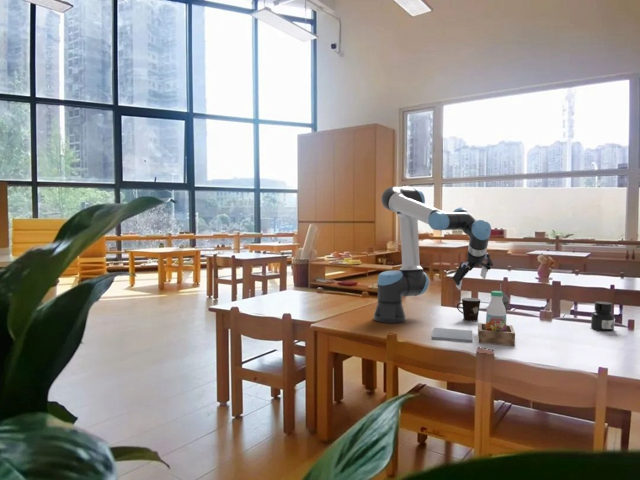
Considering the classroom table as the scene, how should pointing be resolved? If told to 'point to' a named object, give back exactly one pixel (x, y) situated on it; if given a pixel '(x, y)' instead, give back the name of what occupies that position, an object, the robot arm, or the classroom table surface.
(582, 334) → the classroom table surface
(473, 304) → the coffee mug
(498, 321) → the milk bottle
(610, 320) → the ink bottle
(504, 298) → the beverage cup
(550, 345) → the classroom table surface
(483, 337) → the caddy
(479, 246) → the robot arm
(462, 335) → the mat
